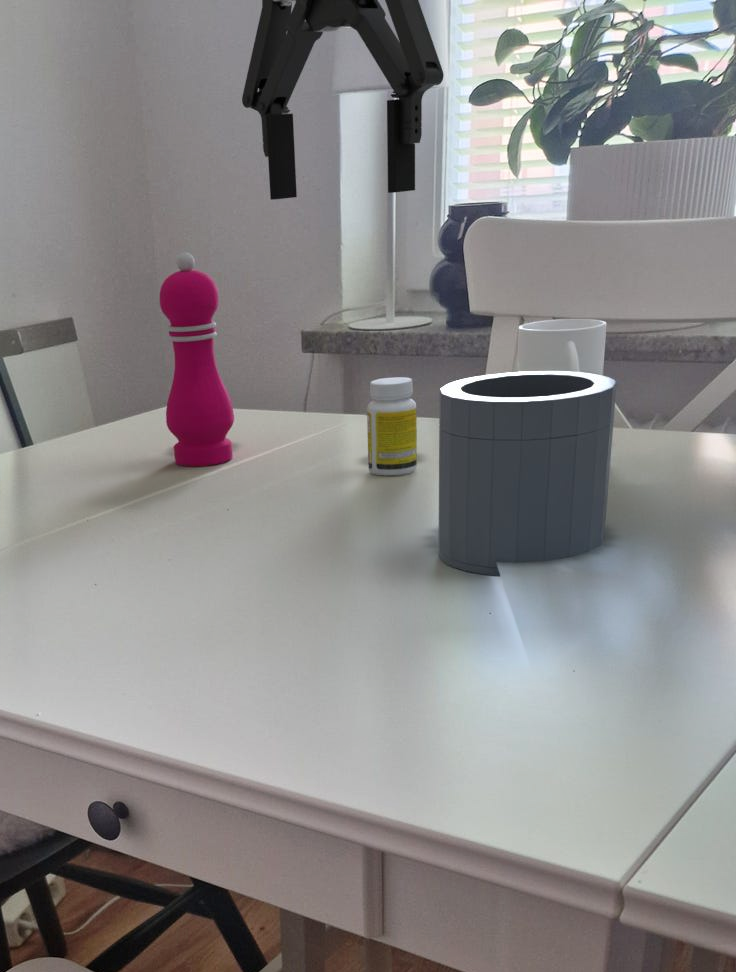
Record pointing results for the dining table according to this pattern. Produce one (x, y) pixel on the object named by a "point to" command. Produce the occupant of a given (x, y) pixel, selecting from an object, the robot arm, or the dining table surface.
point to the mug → (562, 346)
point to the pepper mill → (195, 369)
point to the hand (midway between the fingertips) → (340, 195)
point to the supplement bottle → (392, 427)
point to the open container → (523, 467)
